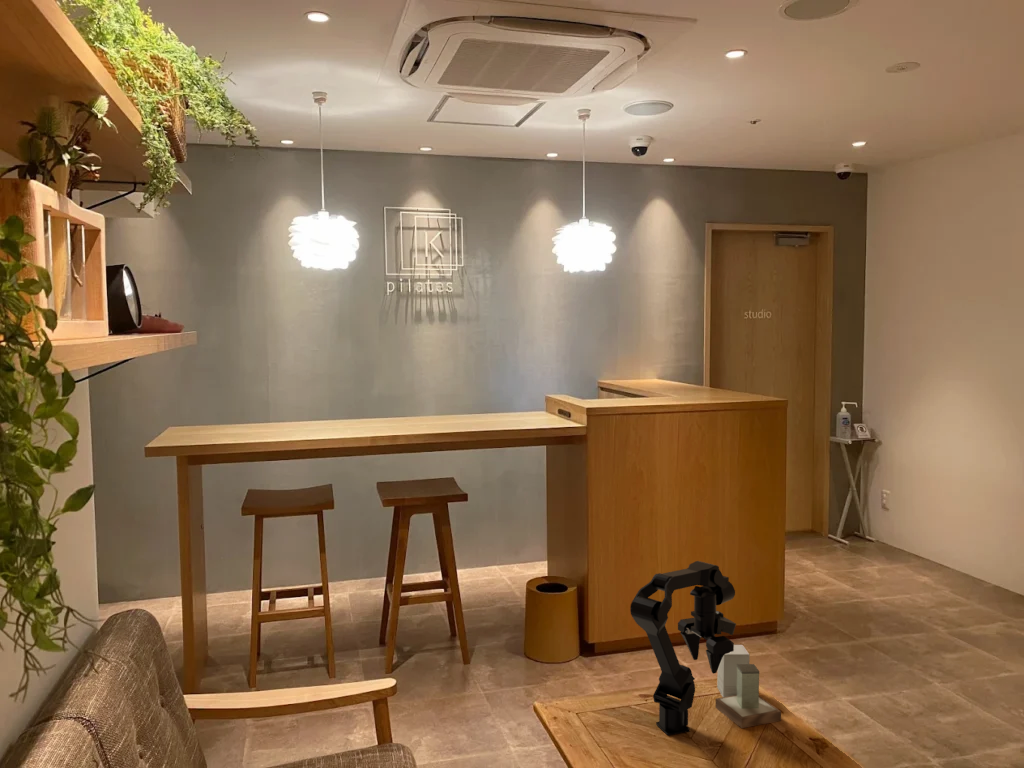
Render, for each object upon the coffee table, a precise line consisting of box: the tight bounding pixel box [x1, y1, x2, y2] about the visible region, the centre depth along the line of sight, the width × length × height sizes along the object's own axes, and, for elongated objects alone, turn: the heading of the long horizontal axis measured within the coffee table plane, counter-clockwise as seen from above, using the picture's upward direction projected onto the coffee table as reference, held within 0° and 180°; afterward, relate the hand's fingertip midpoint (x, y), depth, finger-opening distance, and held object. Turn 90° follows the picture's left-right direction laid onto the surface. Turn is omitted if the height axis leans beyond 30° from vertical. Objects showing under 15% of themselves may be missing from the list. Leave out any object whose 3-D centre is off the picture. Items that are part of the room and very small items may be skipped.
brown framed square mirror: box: [715, 695, 782, 729], centre depth 218 cm, size 12×12×3 cm
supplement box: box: [716, 644, 751, 698], centre depth 230 cm, size 7×7×13 cm
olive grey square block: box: [737, 663, 760, 709], centre depth 218 cm, size 5×5×10 cm
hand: (704, 666), depth 220 cm, fingers open, 9 cm apart
